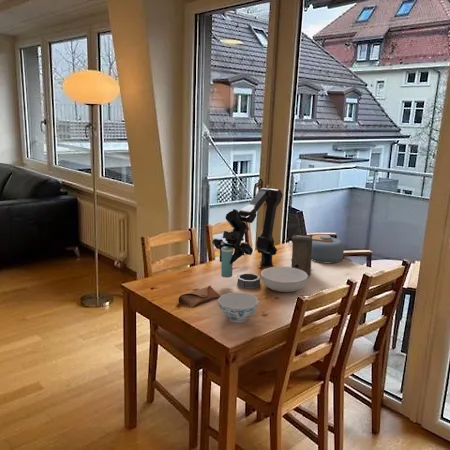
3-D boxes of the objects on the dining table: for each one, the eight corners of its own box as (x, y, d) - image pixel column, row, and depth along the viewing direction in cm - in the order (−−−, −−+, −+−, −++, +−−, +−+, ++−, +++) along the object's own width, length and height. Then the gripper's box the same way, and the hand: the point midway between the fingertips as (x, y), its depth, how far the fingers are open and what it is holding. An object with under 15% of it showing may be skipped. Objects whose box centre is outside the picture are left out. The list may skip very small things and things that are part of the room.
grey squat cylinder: (323, 250, 260) (324, 229, 257) (350, 259, 244) (352, 238, 241) (298, 255, 250) (299, 234, 247) (325, 265, 234) (327, 243, 231)
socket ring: (237, 279, 213) (237, 272, 212) (259, 280, 212) (259, 273, 212) (237, 288, 203) (237, 280, 202) (260, 288, 202) (260, 281, 202)
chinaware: (233, 331, 163) (234, 312, 161) (210, 316, 174) (210, 298, 172) (265, 321, 171) (266, 302, 169) (241, 307, 183) (241, 289, 181)
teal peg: (221, 273, 207) (221, 246, 204) (232, 273, 207) (233, 246, 204) (220, 277, 202) (221, 249, 199) (232, 277, 202) (232, 250, 199)
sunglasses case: (191, 308, 181) (186, 293, 182) (182, 312, 186) (176, 297, 187) (223, 296, 193) (218, 281, 194) (213, 300, 198) (208, 285, 199)
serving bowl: (313, 285, 207) (314, 271, 206) (296, 301, 190) (297, 285, 188) (272, 276, 218) (272, 263, 216) (252, 290, 200) (252, 276, 198)
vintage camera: (308, 266, 233) (310, 229, 229) (311, 276, 218) (312, 236, 214) (289, 266, 234) (290, 228, 230) (290, 275, 219) (292, 235, 215)
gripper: (214, 221, 207) (200, 250, 200) (250, 226, 197) (237, 257, 191) (223, 233, 215) (210, 262, 209) (258, 239, 206) (245, 269, 199)
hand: (225, 262), depth 202 cm, fingers closed on teal peg, 5 cm apart
